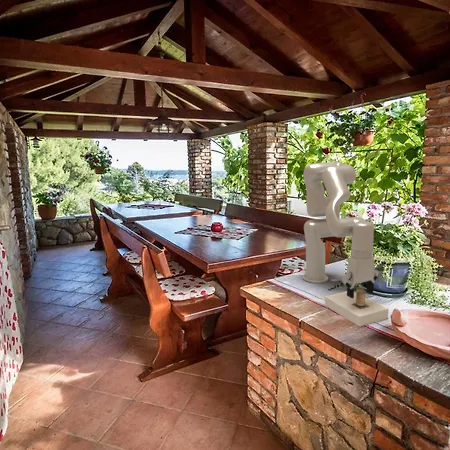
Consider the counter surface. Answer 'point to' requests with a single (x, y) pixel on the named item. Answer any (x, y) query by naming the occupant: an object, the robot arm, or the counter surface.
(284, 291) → the counter surface
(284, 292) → the counter surface
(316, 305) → the counter surface
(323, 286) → the counter surface
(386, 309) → the peg board
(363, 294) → the beech peg
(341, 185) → the robot arm
